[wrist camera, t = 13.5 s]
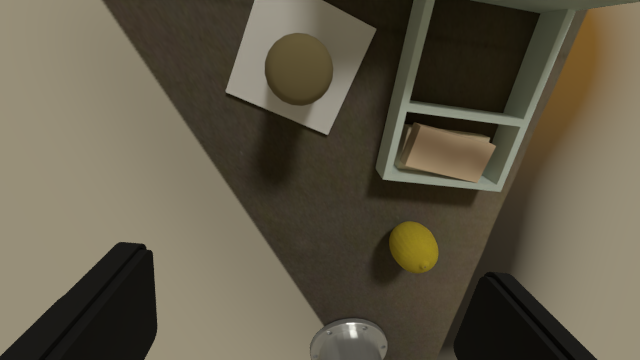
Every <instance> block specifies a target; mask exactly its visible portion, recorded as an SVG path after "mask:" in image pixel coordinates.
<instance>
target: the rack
mask: <svg viewBox="0 0 640 360" xmlns="http://www.w3.org/2000/svg"><path fill="white" fill-rule="evenodd" d="M472 1H478V2H483V3H488V4H494V5H499V6H504V7H509V8H515V9H520V10H525V11H531V12H536V13H541V14H540V16H539V19H538V22H537V24H536V27H535V30H534V32H533V35H532V38H531V40H530V43H529V45H528V48H527V51H526V53H525V56H524V59H523V61H522V64H521V67H520V69H519V72H518V75H517V77H516V80H515V83H514V85H513V88H512V91H511V93H510V96H509V98H508V101H507V104H506V106H505V109H504V112H503V113H498V112H491V111H483V110H476V109H469V108H462V107H455V106H448V105H440V104H433V103H426V102H419V101H412V100H410V97H411V93H412V89H413V85H414V81H415V77H416V73H417V69H418V65H419V62H420V58H421V54H422V50H423V46H424V42H425V38H426V34H427V30H428V26H429V22H430V18H431V14H432V10H433V6H434V2H435V0H414V1H413V5H412V10H411V14H410V18H409V23H408V27H407V31H406V36H405V40H404V45H403V49H402V53H401V58H400V62H399V66H398V71H397V75H396V80H395V84H394V88H393V93H392V97H391V102H390V106H389V110H388V115H387V119H386V123H385V128H384V132H383V137H382V141H381V145H380V150H379V154H378V158H377V163H376V167H375V169H376V170H377V172H378V173H379V175H380V176H381V178H382V179H383V180H392V181H402V182H411V183H421V184H431V185H440V186H450V187H459V188H469V189H479V190H488V191H498V192H501V189H502V187H503V185H504V182H505V180H506V177H507V175H508V173H509V170H510V168H511V165H512V163H513V161H514V158H515V156H516V153H517V151H518V149H519V146H520V144H521V141H522V139H523V137H524V134H525V132H526V129H527V127H528V125H529V122H530V120H531V117H532V115H533V113H534V110H535V108H536V105H537V103H538V101H539V98H540V96H541V93H542V91H543V89H544V86H545V84H546V81H547V79H548V77H549V74H550V72H551V69H552V67H553V65H554V62H555V60H556V57H557V55H558V53H559V50H560V48H561V45H562V43H563V41H564V38H565V36H566V33H567V31H568V29H569V26H570V24H571V21H572V19H573V16H574V14H575V12H576V11H577V10H584V9H591V8H598V7H605V6H612V5H619V4H627V3H633V2H640V0H472ZM407 112H414V113H422V114H429V115H437V116H444V117H452V118H459V119H466V120H474V121H481V122H489V123H496V124H499V125H498V128H497V130H496V133H495V136H494V138H493V141H492V144H493V145H495V146H496V147H495V149H494V151H493V153H492V155H491V157H490V159H489V161H488V163H487V165H486V167H485V169H484V171H483V173H482V175H481V177H480V179H479V181H478V183H476V182H471V181H467V180H463V179H459V178H454V177H450V176H446V175H442V174H437V173H433V172H426V171H417V170H408V169H399V168H397V167H396V166H395V164H394V161H395V157H396V153H397V149H398V145H399V141H400V137H401V133H402V129H403V125H404V121H405V117H406V113H407Z"/></svg>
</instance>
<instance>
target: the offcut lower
mask: <svg viewBox="0 0 640 360" xmlns="http://www.w3.org/2000/svg"><path fill="white" fill-rule="evenodd" d="M412 126H413V125H409V124H404V125H403V129H402V133H401V137H400V141H399V145H398V149H397V153H396V157H395V161H394V164H395V166H396V167H397V168H399V169H408V170H417V171H425V170H420V169H416V168H412V167H408V166H405V165H404V164H403V163H402V162H401V161H400V157H401V155H402V152H403V150H404V147H405V144H406V142H407V139H408V137H409V134H410V132H411V129H412ZM438 129H440V128H438ZM442 130H446V131H450V132H454V133H457V134H461V135H465V136H469V137H472V138H476V139H480V140H484V141H487V142H489V140H490V137H487V136H485V135H483V134H477V133H470V132H462V131H455V130H447V129H442ZM426 172H429V171H426Z"/></svg>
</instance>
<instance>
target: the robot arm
mask: <svg viewBox="0 0 640 360" xmlns="http://www.w3.org/2000/svg"><path fill="white" fill-rule="evenodd" d="M156 333H157V314H156V297H155V281H154V265H153V253H152V251H151V250H147V249H146V246H145V245H144V244H138V243H126V242H119V243H118V244H116V245H115V246H114V247H113V248H112V249H111V250H110V251H109V252H108V253H107V254H106V255H105V256H104V257H103V258H102V259H101V260H100V261H99V262H98V263H97V264H96V265H95V266H94V267H93V268H92V269H91V270H90V271H89V272H88V273H87V274H85V276H83V278H82V279H80V281H79V282H77V283H76V284H75V285H74V286H73V287H72V288H71V289H70V290H69V291H68V292H67V293H66V294H65V295H64V296H62V297H61V298H60V299H59V300H57V302H55V303H54V305H52V306H51V307H50V308H49V309H48V310H47V311H46V312H45V313H44V314H43V315H42V316H41V317H40V318H39V319H38V320H37V321H36V322H35V323H34V324H33V325H32V326H31V327H30V328H29V329H28V330H27V331H26V332H25V333H24V334H23V335H22V336H21V337H19V338H18V339H17V340H16V341H15V342H14V343H13V344H12V345H11V346H10V347H9V348H8V349H7V350H6V351H5V352H4V353H3V354H2V355H1V356H0V360H144V359H145V357H146V355H147V353H148V351H149V350H150V348H151V346H152V344H153V342H154V340H155V336H156ZM386 352H387V340H386V337H385V334H384V332H383V331H382V330H381V328H380V327H378V326H377V325H376V324H374V323H372V322H370V321H367V320H364V319H357V318H349V319H342V320H338V321H335V322H332V323H330V324H328V325H326V326H325V327H323V328H322V329H321V330H320V331H319V332H317V333H316V335H315V336H314V337H313V340H312V342H311V345H310V356H311V360H383V358H384V356H385V355H386ZM454 352H455V355H456V357H457V359H458V360H597V359H596V358H595V357H594V356H593V355H592V354H591V353H590V352H589V351H588V350H587V349H586V348H585V347H584V346H583V345H582V344H581V343H580V342H579V341H578V340H577V339H576V338H575V337H574V336H573V335H572V334H571V333H570V332H569V331H568V330H567V329H565V328H564V326H563V325H562V324H560V322H558V320H557V319H556V318H554V317H553V315H551V314H550V313H549V312H548V311H547V310H546V309H545V308H544V307H543V306H542V305H541V304H540V303H539V302H538V301H537V300H536V299H535V298H534V297H533V296H532V295H531V294H530V293H529V292H528V291H527V290H526V289H525V288H524V287H523V286H522V285H521V284H520V283H519V282H518V281H517V280H516V279H515V278H514V277H513V276H512V275H510V274H507V273H497V272H487V273H486V274H485V275H484V277H481V278H480V279H479V281H478V284H477V286H476V289H475V291H474V294H473V296H472V299H471V301H470V304H469V306H468V309H467V311H466V314H465V316H464V319H463V321H462V324H461V326H460V328H459V331H458V333H457V336H456V338H455V341H454Z"/></svg>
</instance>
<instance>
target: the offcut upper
mask: <svg viewBox="0 0 640 360" xmlns="http://www.w3.org/2000/svg"><path fill="white" fill-rule="evenodd" d="M495 147H496V146H495V145H493V144H491V143H489V142H487V141H484V140H480V139H476V138H472V137H469V136H465V135H461V134H457V133H454V132H450V131H446V130H442V129H438V128H435V127H431V126H427V125H423V124H419V123H416V122H414V124H413V126H412V129H411V132H410V134H409V137H408V139H407V142H406V144H405V147H404V150H403V152H402V155H401V157H400V161H401V162H402V163H403V164H404V165H405V166H408V167H412V168H416V169H420V170H425V171H429V172H433V173H437V174H442V175H446V176H450V177H454V178H459V179H463V180H467V181H471V182H476V183H478V181H479V179H480V177H481V175H482V173H483V171H484V169H485V167H486V165H487V163H488V161H489V159H490V157H491V155H492V153H493V151H494V149H495Z"/></svg>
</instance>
